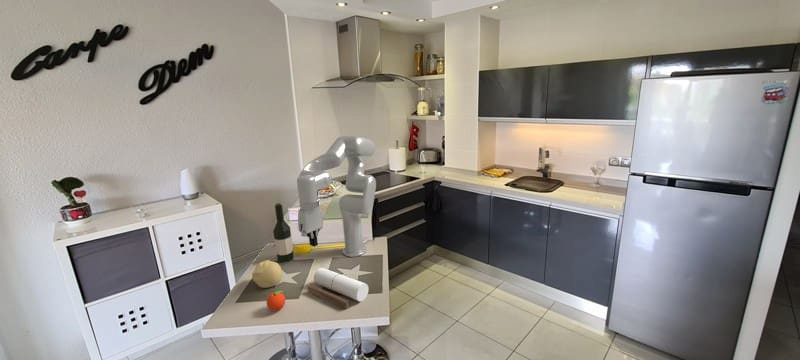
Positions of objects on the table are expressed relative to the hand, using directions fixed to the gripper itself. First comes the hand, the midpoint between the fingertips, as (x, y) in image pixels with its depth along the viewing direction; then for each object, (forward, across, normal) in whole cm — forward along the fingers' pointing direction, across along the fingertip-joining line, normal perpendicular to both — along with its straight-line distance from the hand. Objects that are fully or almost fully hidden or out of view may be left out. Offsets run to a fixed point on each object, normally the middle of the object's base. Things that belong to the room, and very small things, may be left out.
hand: (313, 245), depth 141 cm
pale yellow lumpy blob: (+19, +11, -20) cm, 30 cm away
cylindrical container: (+16, -2, 0) cm, 16 cm away
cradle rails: (+19, 0, +12) cm, 22 cm away
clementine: (+19, +20, -1) cm, 28 cm away
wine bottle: (+19, -8, -33) cm, 39 cm away
